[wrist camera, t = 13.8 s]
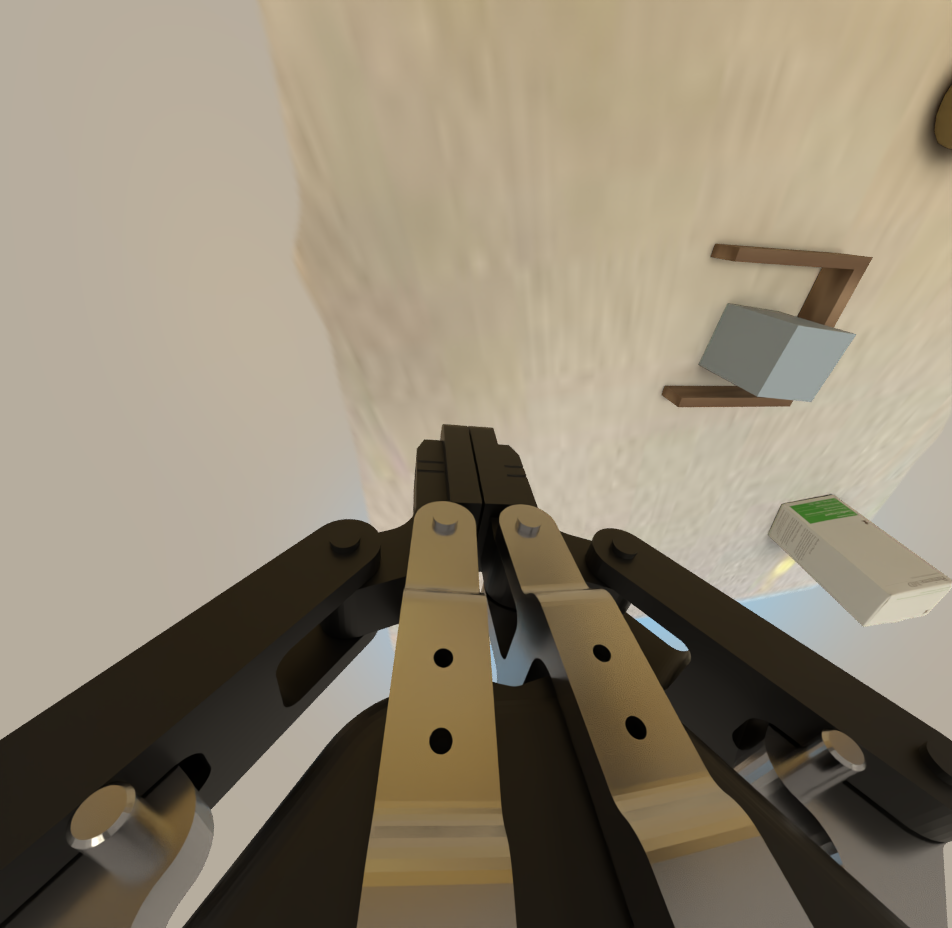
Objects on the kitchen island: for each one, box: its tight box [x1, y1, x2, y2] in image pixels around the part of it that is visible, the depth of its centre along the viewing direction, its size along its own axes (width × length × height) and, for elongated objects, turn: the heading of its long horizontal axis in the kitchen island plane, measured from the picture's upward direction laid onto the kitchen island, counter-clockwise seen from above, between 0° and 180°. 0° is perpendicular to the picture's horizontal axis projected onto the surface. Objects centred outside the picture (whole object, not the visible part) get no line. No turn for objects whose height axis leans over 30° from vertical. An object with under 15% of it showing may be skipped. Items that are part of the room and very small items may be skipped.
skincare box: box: [768, 495, 952, 627], centre depth 51 cm, size 8×7×16 cm
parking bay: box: [662, 244, 873, 407], centre depth 38 cm, size 14×13×3 cm
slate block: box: [699, 303, 856, 402], centre depth 36 cm, size 6×6×8 cm
